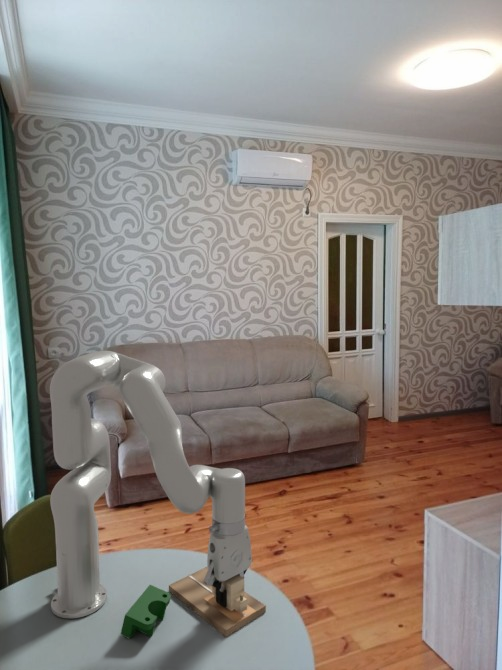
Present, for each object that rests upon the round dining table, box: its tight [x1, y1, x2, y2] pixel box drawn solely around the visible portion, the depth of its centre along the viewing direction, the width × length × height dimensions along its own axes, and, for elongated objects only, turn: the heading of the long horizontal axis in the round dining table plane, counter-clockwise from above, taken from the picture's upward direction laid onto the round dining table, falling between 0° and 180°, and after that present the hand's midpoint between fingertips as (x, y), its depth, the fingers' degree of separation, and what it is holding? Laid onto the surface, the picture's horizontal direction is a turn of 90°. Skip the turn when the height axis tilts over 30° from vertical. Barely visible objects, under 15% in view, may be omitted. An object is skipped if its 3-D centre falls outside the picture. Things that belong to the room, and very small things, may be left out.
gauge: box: [212, 574, 247, 613], centre depth 112 cm, size 10×4×6 cm, turn 43°
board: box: [168, 566, 267, 638], centre depth 116 cm, size 22×12×2 cm, turn 43°
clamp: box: [120, 584, 172, 640], centre depth 107 cm, size 12×6×9 cm, turn 158°
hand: (229, 599), depth 112 cm, fingers closed on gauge, 3 cm apart
